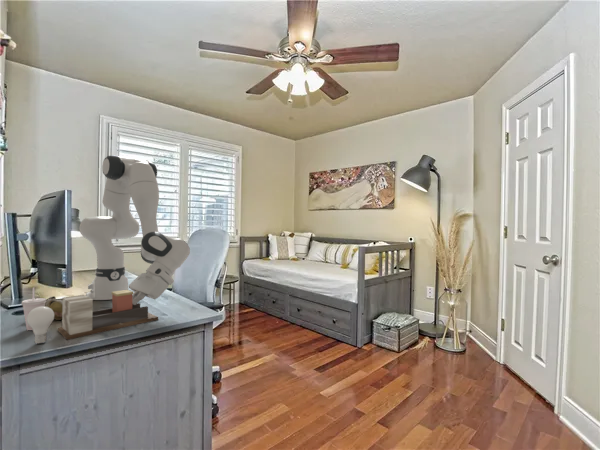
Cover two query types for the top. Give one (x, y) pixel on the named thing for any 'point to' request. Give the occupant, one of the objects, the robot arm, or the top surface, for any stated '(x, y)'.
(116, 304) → the plunger
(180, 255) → the robot arm
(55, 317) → the ceramic sculpture
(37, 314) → the lightbulb
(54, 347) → the top surface
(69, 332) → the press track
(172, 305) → the top surface
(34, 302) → the smoothie
